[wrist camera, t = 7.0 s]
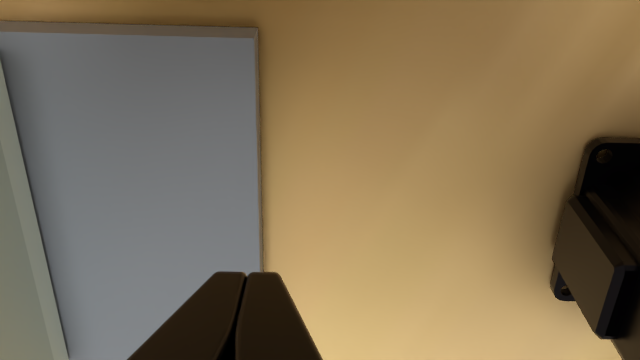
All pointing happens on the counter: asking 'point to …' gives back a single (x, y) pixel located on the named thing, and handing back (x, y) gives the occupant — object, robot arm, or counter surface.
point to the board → (136, 167)
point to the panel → (22, 259)
